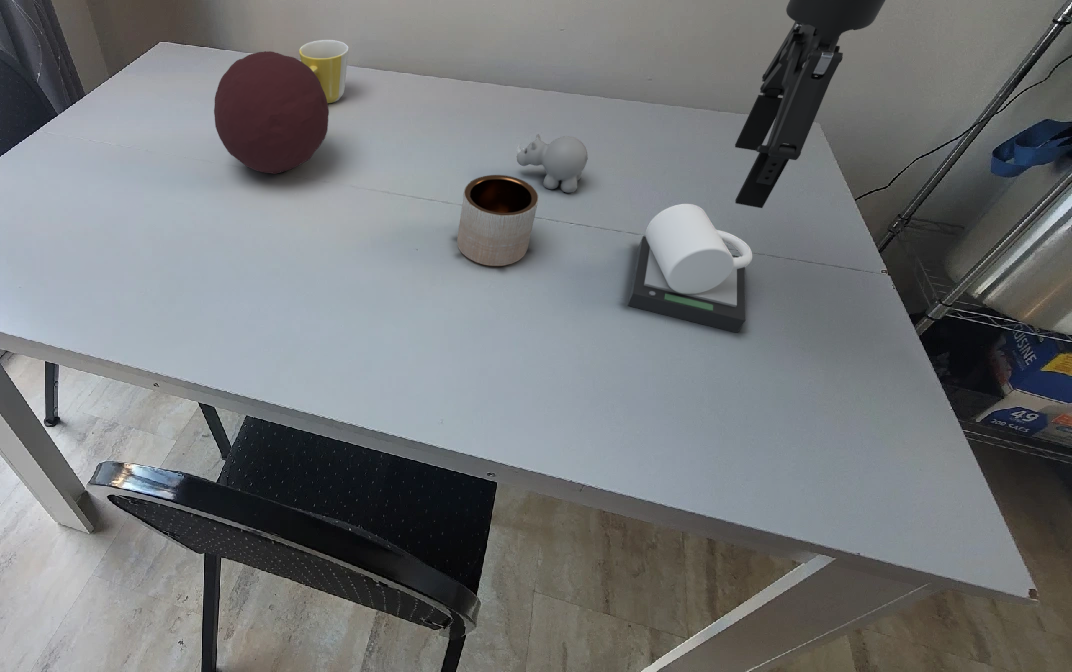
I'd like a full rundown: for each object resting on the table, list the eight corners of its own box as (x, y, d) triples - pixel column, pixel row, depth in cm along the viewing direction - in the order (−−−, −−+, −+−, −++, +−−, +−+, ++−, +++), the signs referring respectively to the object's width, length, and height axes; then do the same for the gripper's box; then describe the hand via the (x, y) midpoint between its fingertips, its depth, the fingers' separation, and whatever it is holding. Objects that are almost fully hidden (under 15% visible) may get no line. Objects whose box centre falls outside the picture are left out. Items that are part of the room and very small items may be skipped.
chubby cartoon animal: (518, 162, 110) (527, 119, 104) (584, 178, 106) (597, 133, 100) (506, 182, 106) (514, 137, 100) (574, 199, 102) (586, 153, 96)
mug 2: (658, 294, 81) (680, 248, 75) (637, 248, 88) (656, 202, 82) (749, 295, 80) (778, 248, 75) (721, 249, 87) (746, 202, 82)
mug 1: (322, 83, 136) (319, 35, 128) (359, 94, 132) (358, 45, 124) (283, 107, 128) (278, 57, 121) (321, 119, 124) (318, 68, 116)
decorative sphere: (235, 139, 119) (215, 34, 105) (334, 138, 118) (328, 32, 104) (216, 195, 106) (191, 83, 91) (328, 195, 105) (320, 81, 90)
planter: (444, 253, 93) (450, 200, 86) (475, 218, 99) (483, 166, 92) (509, 278, 88) (521, 225, 81) (537, 239, 95) (550, 187, 88)
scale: (737, 333, 80) (747, 318, 78) (627, 305, 84) (633, 291, 82) (737, 270, 88) (746, 255, 86) (637, 248, 92) (643, 233, 90)
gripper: (795, -61, 65) (715, 123, 81) (815, 12, 50) (711, 224, 65) (875, -56, 63) (777, 132, 78) (923, 23, 47) (789, 239, 63)
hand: (747, 174), depth 72 cm, fingers open, 13 cm apart
